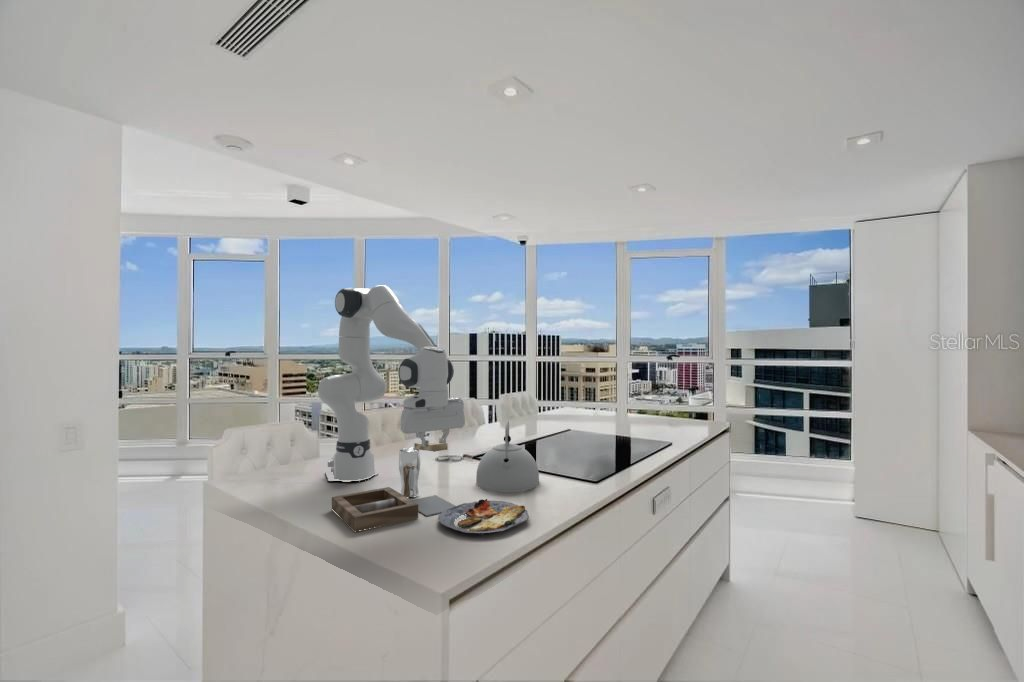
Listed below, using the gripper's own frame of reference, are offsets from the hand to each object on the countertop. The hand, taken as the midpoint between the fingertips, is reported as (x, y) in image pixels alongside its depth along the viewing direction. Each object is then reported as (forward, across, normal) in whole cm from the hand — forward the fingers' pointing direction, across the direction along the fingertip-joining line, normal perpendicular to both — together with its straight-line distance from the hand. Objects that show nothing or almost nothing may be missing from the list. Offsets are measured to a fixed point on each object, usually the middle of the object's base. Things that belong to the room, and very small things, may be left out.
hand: (433, 445), depth 151 cm
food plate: (+19, -6, +19) cm, 28 cm away
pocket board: (+19, +17, -5) cm, 26 cm away
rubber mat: (+19, 0, -2) cm, 19 cm away
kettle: (+19, -33, -8) cm, 39 cm away
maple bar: (+1, 0, -2) cm, 2 cm away
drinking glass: (+19, +1, -16) cm, 25 cm away
